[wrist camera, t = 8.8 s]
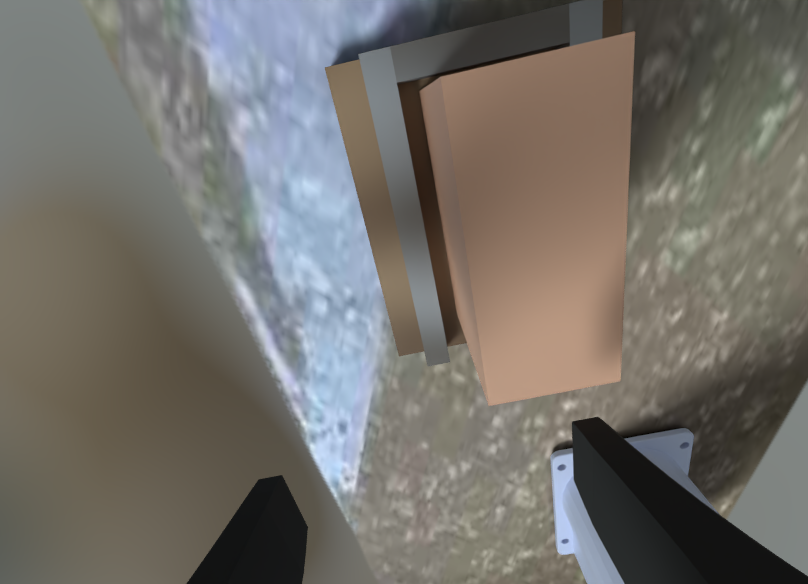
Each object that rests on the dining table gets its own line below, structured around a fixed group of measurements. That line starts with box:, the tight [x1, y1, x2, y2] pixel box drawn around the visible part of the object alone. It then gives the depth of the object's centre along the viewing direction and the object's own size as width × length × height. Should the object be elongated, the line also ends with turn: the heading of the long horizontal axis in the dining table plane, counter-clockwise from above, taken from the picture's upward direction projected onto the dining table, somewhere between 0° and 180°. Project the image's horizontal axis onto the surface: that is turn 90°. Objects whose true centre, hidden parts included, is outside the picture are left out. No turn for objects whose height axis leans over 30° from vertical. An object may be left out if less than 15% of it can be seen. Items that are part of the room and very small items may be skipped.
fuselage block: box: [419, 31, 635, 406], centre depth 12 cm, size 9×4×6 cm, turn 12°
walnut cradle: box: [325, 0, 623, 366], centre depth 15 cm, size 12×10×2 cm
